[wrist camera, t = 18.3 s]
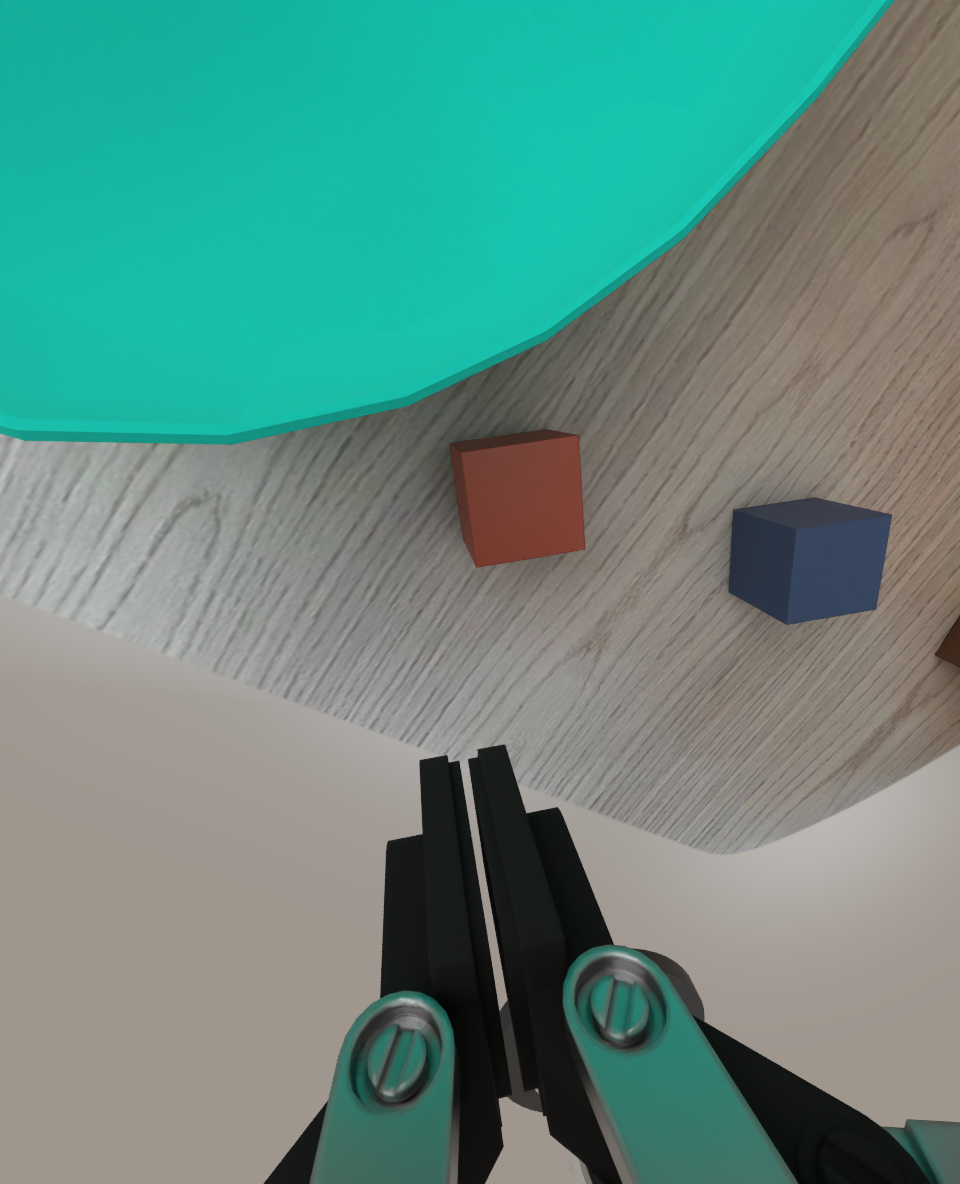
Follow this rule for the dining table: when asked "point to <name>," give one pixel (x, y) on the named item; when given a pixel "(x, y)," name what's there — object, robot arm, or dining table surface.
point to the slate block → (808, 558)
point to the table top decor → (354, 190)
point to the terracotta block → (519, 496)
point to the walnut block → (951, 646)
